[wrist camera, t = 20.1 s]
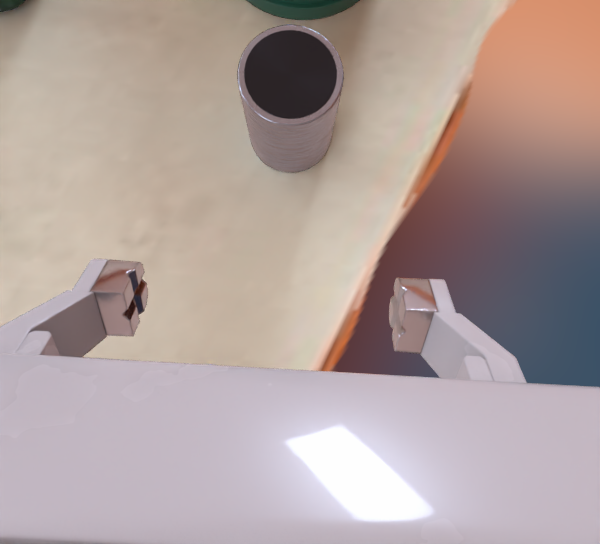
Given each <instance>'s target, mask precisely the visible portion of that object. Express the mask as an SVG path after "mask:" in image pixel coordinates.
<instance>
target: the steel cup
mask: <svg viewBox="0 0 600 544" xmlns="http://www.w3.org/2000/svg"><path fill="white" fill-rule="evenodd" d="M237 79H238V86H239V90H240V95H241V99H242V104H243V108H244V113H245V118H246V122H247V127H248V131H249V136H250V140H251V144H252V147H253V149H254V151H255V153H256V155H257V156H258V157H259V158H260V159H261V160H262V161H263V162H264V163H265V164H266V165H268V166H269V167H271V168H273V169H276V170H278V171H282V172H300V171H303V170H306V169H309V168H310V167H312V166H314V165H315V164H317V163H318V162H319V161H320V160H321V159H322V158H323V156H324V155H325V154H326V152H327V150H328V148H329V145H330V141H331V137H332V132H333V128H334V123H335V119H336V114H337V109H338V105H339V100H340V96H341V91H342V87H343V79H344V72H343V65H342V62H341V59H340V57H339V54H338V52H337V51H336V49H335V48H334V46H333V45H332V44H331V43H330V42H329V41H328V40H327V39H326V38H325V37H324V36H323V35H321V34H320V33H318V32H316V31H314V30H312V29H310V28H307V27H303V26H298V25H282V26H277V27H273V28H271V29H268V30H266V31H264V32H262V33H261V34H259V35H258V36H256V37H255V38H254V39H253V40H252V41H251V42H250V43H249V44H248V46H247V47H246V49H245V50H244V52H243V54H242V56H241V58H240V61H239V65H238V71H237Z"/></svg>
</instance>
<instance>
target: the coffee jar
mask: <svg viewBox="0 0 600 544" xmlns="http://www.w3.org/2000/svg"><path fill="white" fill-rule="evenodd" d="M24 1H25V0H0V12H4V11H8V10H12V9H14V8H17V7H18V6H20V5H21V4H22V3H23V2H24Z"/></svg>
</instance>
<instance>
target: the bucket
mask: <svg viewBox="0 0 600 544" xmlns="http://www.w3.org/2000/svg"><path fill="white" fill-rule="evenodd" d="M247 1H248V2H250V3H251V4H252V5H254V6H255V7H257V8H259V9H261V10H263V11H265V12H267V13H270V14H272V15H275V16H279V17H283V18H288V19H295V20H311V19H320V18H324V17H328V16H332V15H334V14H337V13H339V12H342V11H344V10H346V9H347V8H349V7H351V6H352V5H354V4H355V3H357V2H358V1H359V0H247Z"/></svg>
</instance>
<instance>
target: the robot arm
mask: <svg viewBox="0 0 600 544" xmlns="http://www.w3.org/2000/svg"><path fill="white" fill-rule="evenodd" d="M143 275H144V268H143V264H142V263H141V262H133V261H121V260H106V259H92V260H91V261H90V262H89V264H88V265H87V267H86V268H85V270H84V272H83V273H82V275H81V276H80V278H79V280H78V281H77V283H76V284H75V286H74V288H73V289H72V291H68V290H67V291H65V292H63V293H61V294H60V295H58V296H56V297H54V298H52V299H50V300H49V301H47V302H45V303H43V304H41V305H39V306H38V307H36V308H34V309H32V310H30V311H28V312H27V313H25V314H23V315H21V316H19V317H17V318H16V319H14V320H12V321H10V322H8V323H6V324H4V325H3V326H1V327H0V544H600V387H587V386H570V385H552V384H535V383H526V380H525V378H524V376H523V373H522V371H521V369H520V367H519V364H518V362H517V359H516V357H514V356H513V355H512V354H510V353H509V352H508V351H507V350H505V349H504V348H503V347H502V346H500V345H499V344H498V343H497V342H495V341H494V340H493V339H492V338H490V337H489V336H488V335H487V334H485V333H484V332H483V331H482V330H480V329H479V328H478V327H476V326H475V325H474V324H473V323H471V322H470V321H469V320H468V319H467V318H465V317H464V316H463V315H462V314H457V313H456V311H455V308H454V305H453V302H452V299H451V296H450V294H449V291H448V288H447V285H446V282H445V281H444V280H443V279H412V278H396V281H395V284H394V292H395V295H394V296H393V297H392V298H391V301H390V307H389V321H390V326H391V327H392V328H393V329H394V330H393V334H392V339H393V345H394V350H395V352H406V353H419V354H421V356H422V357H423V358H424V359H425V360H426V362H427V363H428V364H429V365H430V366H431V367H432V369H433V370H434V371H435V372H436V373H437V374H438V376H439V377H440V378H430V377H414V376H396V375H378V374H361V373H344V372H327V371H309V370H292V369H274V368H257V367H239V366H222V365H205V364H188V363H170V362H153V361H136V360H119V359H101V358H84V357H83V356H84V355H85V354H86V353H88V352H89V351H90V350H91V349H92V348H94V347H95V346H96V345H97V344H98V343H100V342H101V341H102V340H103V339H105V338H106V337H107V336H106V335H109V336H134V334H135V332H136V329H137V327H138V324H139V322H140V320H139V314H141V313H142V312H144V310H145V307H146V305H147V299H148V288H147V283H146V282H145V281H144V280H143V279H142V277H143Z"/></svg>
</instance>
